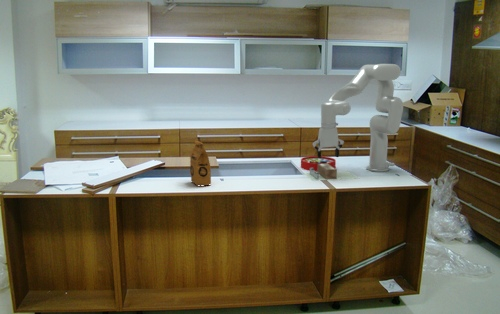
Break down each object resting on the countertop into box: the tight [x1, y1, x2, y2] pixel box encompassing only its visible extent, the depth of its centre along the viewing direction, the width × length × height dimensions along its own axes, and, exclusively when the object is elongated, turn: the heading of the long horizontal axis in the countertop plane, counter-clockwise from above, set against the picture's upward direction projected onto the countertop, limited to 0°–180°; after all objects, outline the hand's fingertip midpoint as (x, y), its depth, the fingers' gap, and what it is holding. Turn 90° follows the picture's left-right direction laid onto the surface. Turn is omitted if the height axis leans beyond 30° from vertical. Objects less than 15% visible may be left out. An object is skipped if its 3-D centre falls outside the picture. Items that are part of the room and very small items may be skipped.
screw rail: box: [309, 168, 320, 181], centre depth 247 cm, size 2×13×4 cm, turn 10°
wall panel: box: [303, 170, 359, 182], centre depth 249 cm, size 26×16×1 cm, turn 100°
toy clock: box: [300, 155, 337, 172], centre depth 268 cm, size 20×6×20 cm
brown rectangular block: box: [317, 164, 338, 180], centre depth 248 cm, size 6×14×5 cm, turn 10°
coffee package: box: [189, 140, 212, 186], centre depth 236 cm, size 10×12×22 cm
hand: (328, 157), depth 247 cm, fingers open, 9 cm apart
